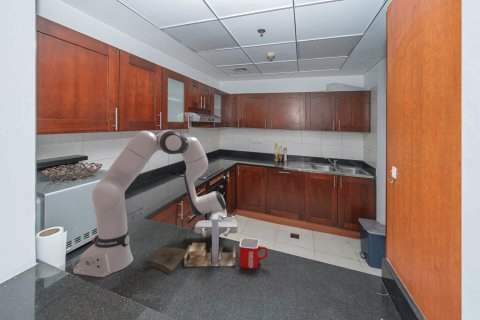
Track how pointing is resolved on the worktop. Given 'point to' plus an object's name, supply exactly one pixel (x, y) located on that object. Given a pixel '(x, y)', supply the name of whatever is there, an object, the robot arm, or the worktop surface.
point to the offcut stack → (197, 254)
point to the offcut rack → (223, 259)
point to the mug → (250, 252)
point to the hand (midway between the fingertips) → (215, 234)
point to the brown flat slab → (167, 259)
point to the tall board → (215, 238)
